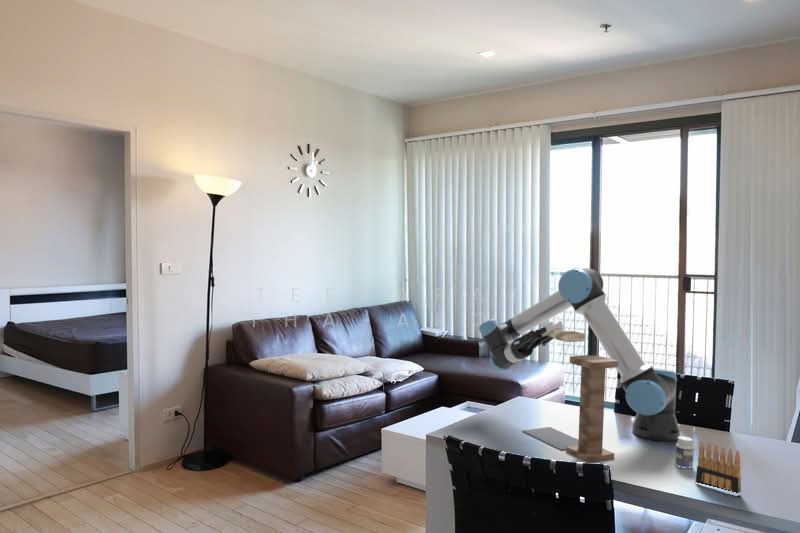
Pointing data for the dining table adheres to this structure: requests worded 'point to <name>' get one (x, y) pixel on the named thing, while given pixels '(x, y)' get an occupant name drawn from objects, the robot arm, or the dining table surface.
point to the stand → (591, 408)
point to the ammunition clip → (719, 469)
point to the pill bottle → (684, 452)
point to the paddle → (566, 335)
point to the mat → (552, 437)
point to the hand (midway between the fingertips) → (557, 325)
